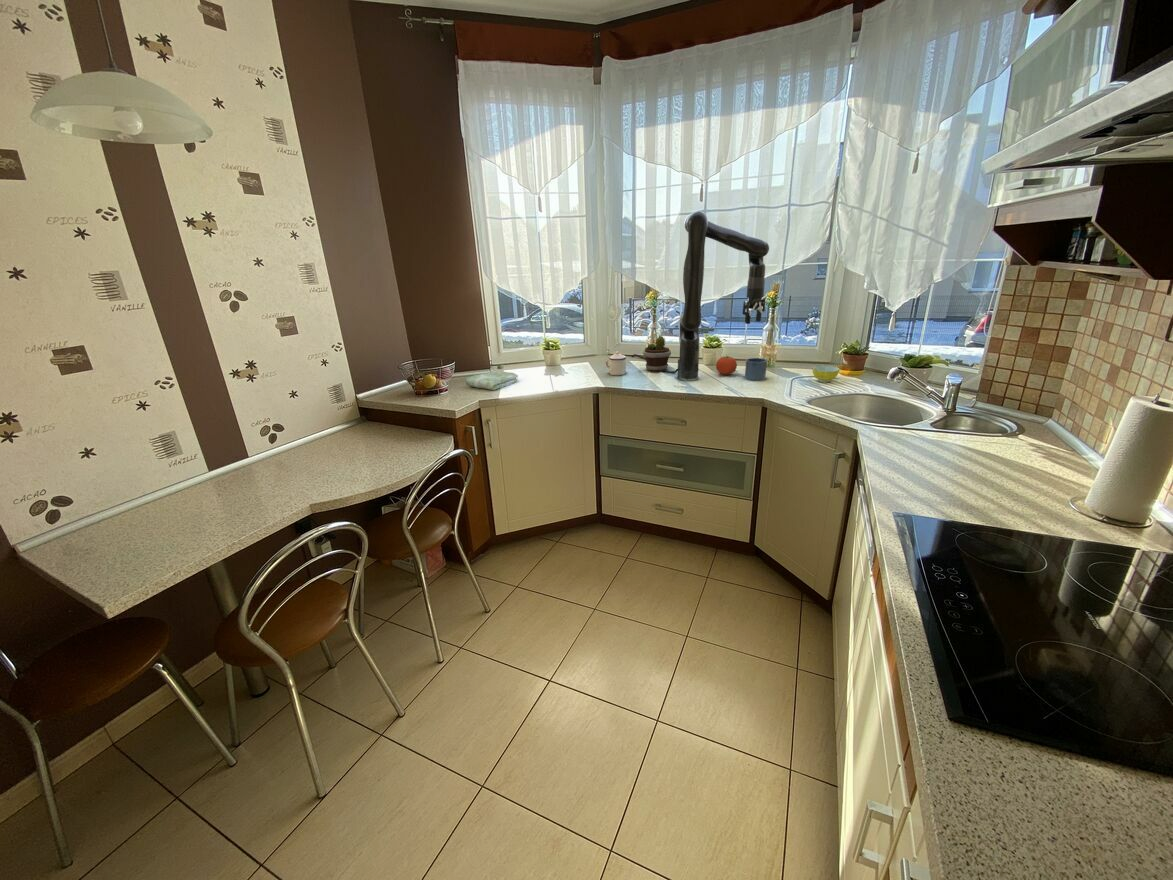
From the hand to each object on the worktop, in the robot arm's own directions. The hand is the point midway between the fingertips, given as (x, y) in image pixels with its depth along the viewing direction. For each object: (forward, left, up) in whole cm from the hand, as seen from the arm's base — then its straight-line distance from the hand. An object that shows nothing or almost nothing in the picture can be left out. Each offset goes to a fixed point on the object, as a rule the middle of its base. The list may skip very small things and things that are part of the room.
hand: (752, 322), depth 228 cm
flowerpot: (-43, -21, -26) cm, 55 cm away
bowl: (+31, +14, -26) cm, 43 cm away
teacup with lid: (-54, -41, -26) cm, 73 cm away
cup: (+5, -2, -26) cm, 27 cm away
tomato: (-10, -5, -26) cm, 29 cm away
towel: (-83, -99, -26) cm, 132 cm away
